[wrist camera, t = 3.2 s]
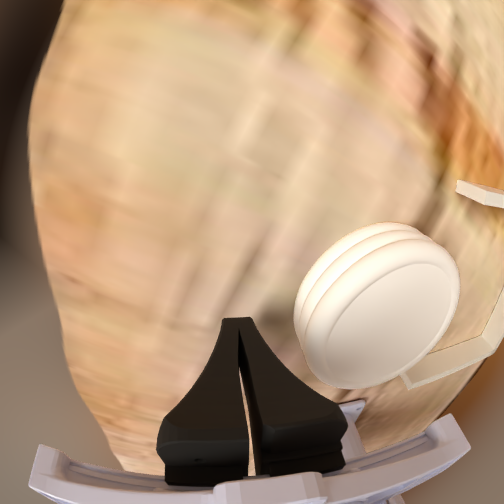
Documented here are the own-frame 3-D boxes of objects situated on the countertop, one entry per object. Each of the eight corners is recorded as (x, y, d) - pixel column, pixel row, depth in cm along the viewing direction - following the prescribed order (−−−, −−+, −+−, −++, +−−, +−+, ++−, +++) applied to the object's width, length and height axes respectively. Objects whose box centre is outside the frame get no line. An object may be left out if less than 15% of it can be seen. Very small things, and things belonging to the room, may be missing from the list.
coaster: (449, 272, 16) (480, 298, 13) (358, 369, 19) (376, 403, 16) (374, 181, 13) (415, 201, 10) (255, 322, 16) (264, 368, 12)
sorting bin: (481, 339, 21) (493, 353, 19) (395, 369, 19) (408, 390, 17) (532, 199, 14) (551, 208, 12) (457, 179, 13) (486, 190, 11)
